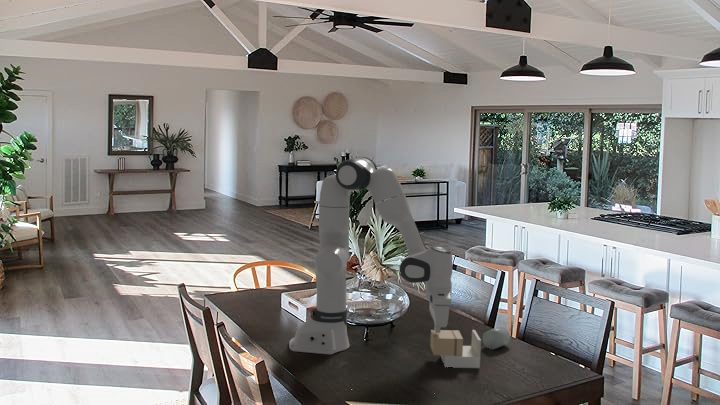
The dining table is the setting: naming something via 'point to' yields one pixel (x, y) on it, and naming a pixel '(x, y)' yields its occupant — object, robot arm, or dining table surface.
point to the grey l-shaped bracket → (465, 355)
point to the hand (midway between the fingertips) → (437, 331)
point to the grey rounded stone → (496, 338)
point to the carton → (446, 342)
